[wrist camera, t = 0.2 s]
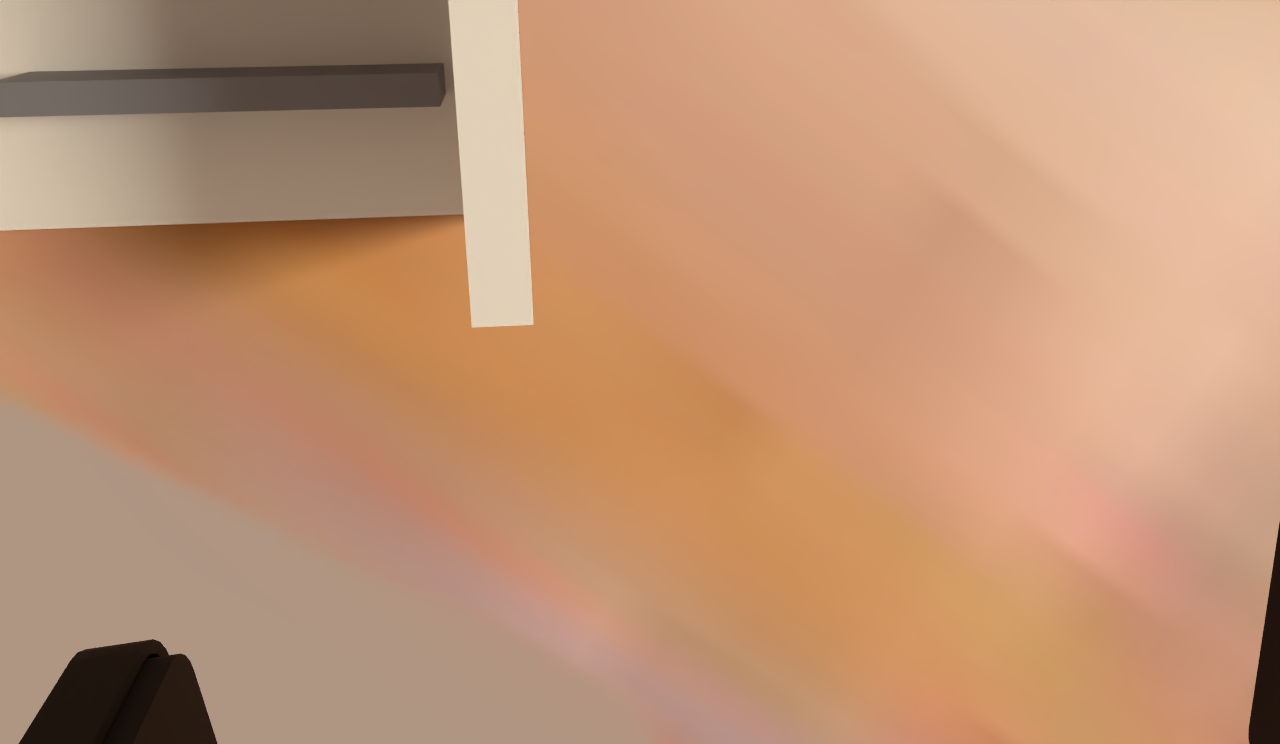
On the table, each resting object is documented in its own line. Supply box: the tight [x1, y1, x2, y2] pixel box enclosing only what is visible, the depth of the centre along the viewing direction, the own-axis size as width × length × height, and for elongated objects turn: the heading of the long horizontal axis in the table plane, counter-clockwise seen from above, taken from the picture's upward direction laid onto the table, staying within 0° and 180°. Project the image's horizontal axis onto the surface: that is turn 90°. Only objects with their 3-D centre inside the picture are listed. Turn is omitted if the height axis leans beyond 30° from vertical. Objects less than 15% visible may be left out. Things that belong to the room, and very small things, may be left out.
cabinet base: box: [0, 0, 533, 327], centre depth 29 cm, size 12×18×13 cm, turn 91°
